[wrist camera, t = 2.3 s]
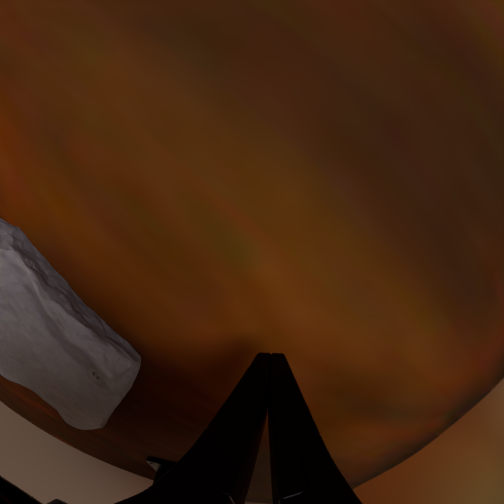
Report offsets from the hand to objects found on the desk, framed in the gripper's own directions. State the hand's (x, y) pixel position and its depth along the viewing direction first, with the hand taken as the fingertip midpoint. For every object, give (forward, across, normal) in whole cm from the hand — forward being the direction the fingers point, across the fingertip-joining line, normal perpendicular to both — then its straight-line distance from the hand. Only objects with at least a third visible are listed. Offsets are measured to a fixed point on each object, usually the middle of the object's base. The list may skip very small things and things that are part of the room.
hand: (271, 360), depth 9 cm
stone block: (+2, +12, +1) cm, 12 cm away
